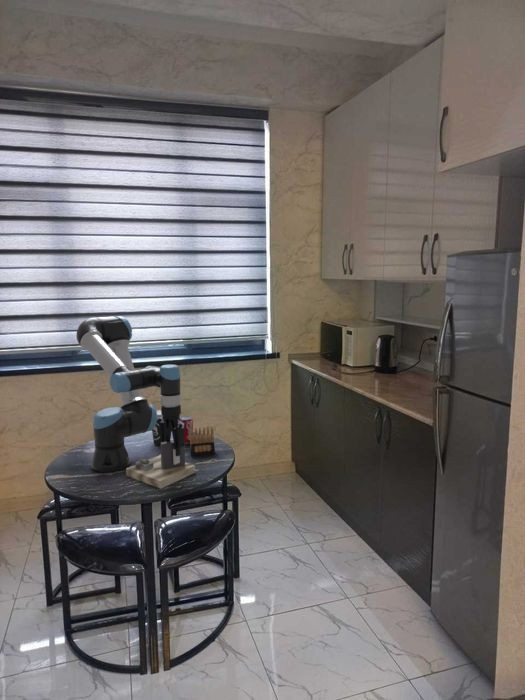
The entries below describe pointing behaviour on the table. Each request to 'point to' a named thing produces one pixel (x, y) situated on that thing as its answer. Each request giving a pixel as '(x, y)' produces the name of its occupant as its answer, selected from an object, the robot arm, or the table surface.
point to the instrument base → (158, 472)
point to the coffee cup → (157, 429)
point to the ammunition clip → (202, 442)
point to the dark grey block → (170, 455)
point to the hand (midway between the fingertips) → (172, 462)
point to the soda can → (187, 428)
